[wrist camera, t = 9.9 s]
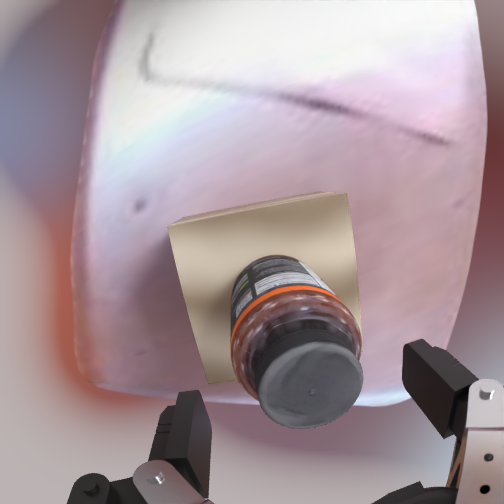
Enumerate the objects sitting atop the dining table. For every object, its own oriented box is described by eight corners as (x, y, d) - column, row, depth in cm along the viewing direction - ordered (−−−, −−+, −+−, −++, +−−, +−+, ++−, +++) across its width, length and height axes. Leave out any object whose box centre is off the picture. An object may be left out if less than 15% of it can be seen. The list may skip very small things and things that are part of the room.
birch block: (183, 217, 27) (167, 227, 21) (320, 191, 28) (347, 193, 21) (213, 343, 30) (208, 384, 23) (336, 318, 30) (362, 351, 23)
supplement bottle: (309, 337, 23) (362, 445, 12) (226, 331, 22) (222, 447, 11) (324, 256, 22) (406, 322, 10) (236, 246, 21) (238, 312, 10)
